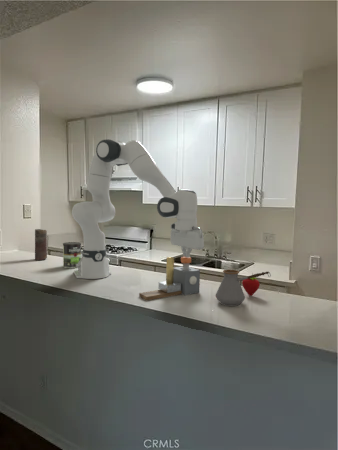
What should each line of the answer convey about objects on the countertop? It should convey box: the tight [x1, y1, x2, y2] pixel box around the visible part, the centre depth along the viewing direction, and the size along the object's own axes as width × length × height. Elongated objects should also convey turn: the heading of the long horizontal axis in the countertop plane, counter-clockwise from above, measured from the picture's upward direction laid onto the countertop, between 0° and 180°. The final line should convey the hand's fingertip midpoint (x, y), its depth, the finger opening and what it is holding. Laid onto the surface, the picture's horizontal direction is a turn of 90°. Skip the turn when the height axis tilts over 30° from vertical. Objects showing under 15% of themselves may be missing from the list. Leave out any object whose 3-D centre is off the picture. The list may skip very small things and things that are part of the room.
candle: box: [34, 228, 48, 261], centre depth 205 cm, size 8×7×20 cm
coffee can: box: [62, 241, 82, 269], centre depth 185 cm, size 10×10×14 cm
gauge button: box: [180, 256, 192, 270], centre depth 139 cm, size 5×5×11 cm
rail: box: [138, 289, 183, 301], centre depth 132 cm, size 6×18×2 cm, turn 124°
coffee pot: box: [215, 269, 272, 307], centre depth 121 cm, size 21×12×15 cm, turn 53°
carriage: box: [158, 256, 181, 293], centre depth 134 cm, size 7×7×14 cm
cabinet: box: [174, 265, 201, 296], centre depth 139 cm, size 11×8×10 cm
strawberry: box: [241, 272, 261, 297], centre depth 134 cm, size 6×8×10 cm
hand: (186, 257), depth 138 cm, fingers closed
